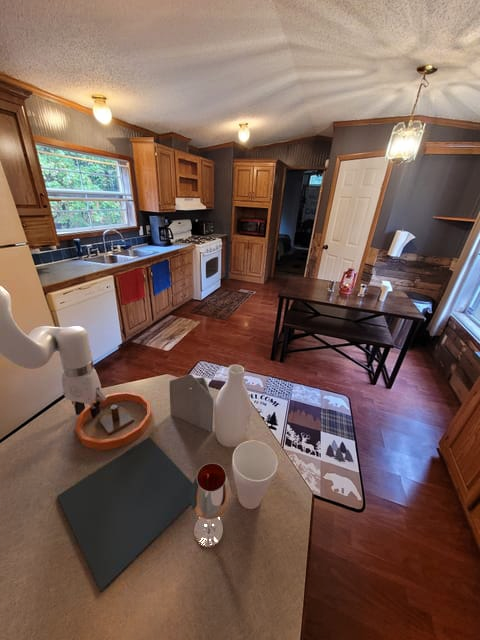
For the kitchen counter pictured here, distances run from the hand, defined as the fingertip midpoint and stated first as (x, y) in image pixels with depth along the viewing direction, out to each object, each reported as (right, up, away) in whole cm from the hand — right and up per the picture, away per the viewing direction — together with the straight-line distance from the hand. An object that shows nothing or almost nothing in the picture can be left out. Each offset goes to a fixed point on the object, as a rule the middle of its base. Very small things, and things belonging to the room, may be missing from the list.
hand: (88, 413), depth 83 cm
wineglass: (+43, -16, -27) cm, 53 cm away
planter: (+35, -2, +4) cm, 35 cm away
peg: (+10, -2, -1) cm, 10 cm away
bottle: (+47, -6, -3) cm, 47 cm away
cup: (+52, -14, -19) cm, 57 cm away
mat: (+23, -12, -21) cm, 34 cm away
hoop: (+10, -2, -1) cm, 10 cm away
